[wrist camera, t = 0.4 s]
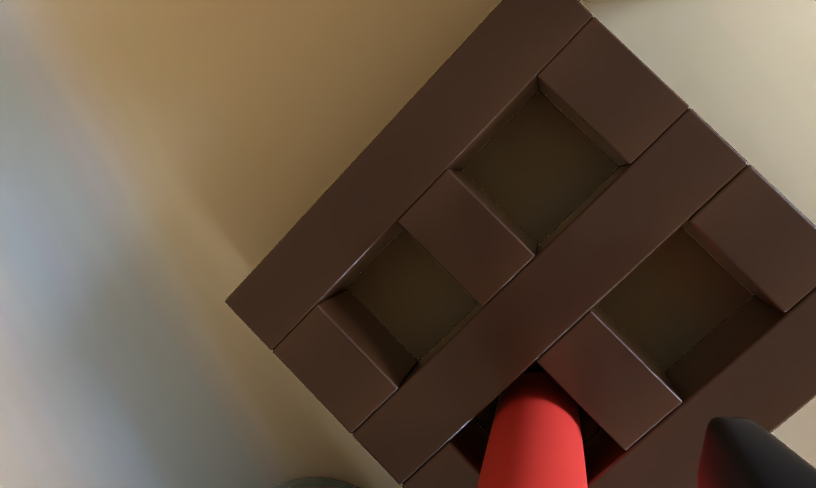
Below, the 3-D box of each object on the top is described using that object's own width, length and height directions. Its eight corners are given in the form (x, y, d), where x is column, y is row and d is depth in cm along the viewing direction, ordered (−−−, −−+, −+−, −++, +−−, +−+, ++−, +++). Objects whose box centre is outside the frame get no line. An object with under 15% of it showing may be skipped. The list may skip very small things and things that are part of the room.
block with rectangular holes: (860, 297, 20) (913, 317, 17) (537, 569, 22) (534, 627, 20) (539, -8, 21) (536, -38, 18) (264, 286, 23) (223, 301, 20)
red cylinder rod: (596, 413, 22) (639, 644, 11) (537, 465, 22) (523, 735, 11) (537, 354, 22) (523, 524, 11) (480, 407, 22) (414, 619, 12)
